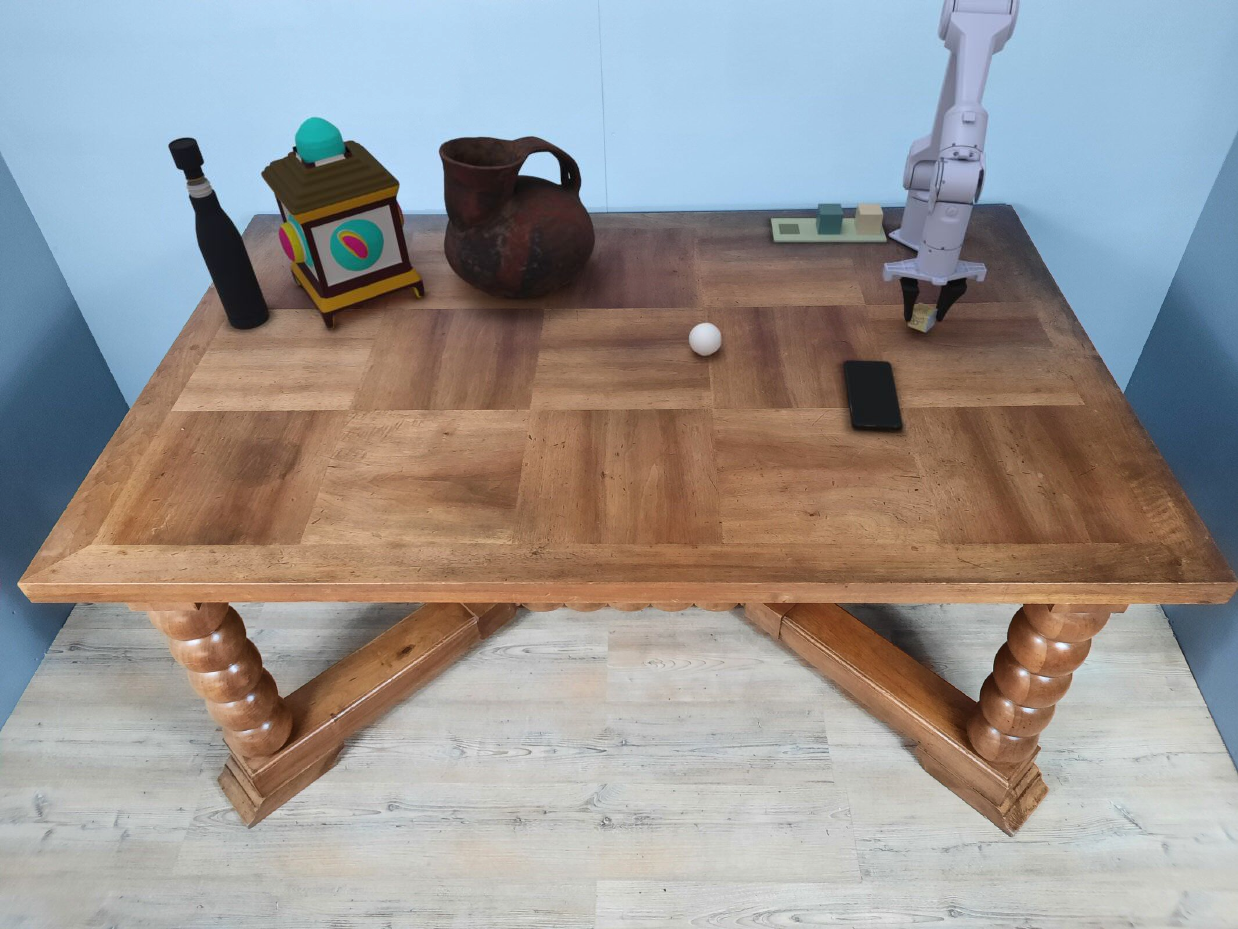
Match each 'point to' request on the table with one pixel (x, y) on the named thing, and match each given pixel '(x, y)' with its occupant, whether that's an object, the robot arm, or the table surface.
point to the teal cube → (829, 219)
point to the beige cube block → (868, 218)
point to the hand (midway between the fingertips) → (922, 318)
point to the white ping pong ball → (705, 339)
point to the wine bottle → (220, 243)
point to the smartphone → (872, 395)
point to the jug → (512, 217)
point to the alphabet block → (923, 317)
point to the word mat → (808, 232)
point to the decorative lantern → (340, 221)
